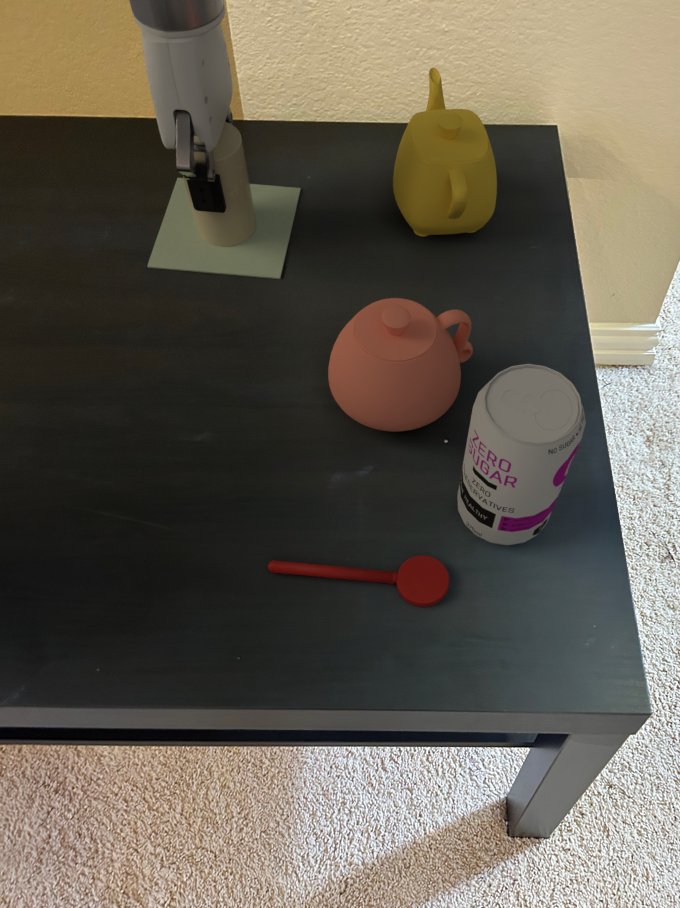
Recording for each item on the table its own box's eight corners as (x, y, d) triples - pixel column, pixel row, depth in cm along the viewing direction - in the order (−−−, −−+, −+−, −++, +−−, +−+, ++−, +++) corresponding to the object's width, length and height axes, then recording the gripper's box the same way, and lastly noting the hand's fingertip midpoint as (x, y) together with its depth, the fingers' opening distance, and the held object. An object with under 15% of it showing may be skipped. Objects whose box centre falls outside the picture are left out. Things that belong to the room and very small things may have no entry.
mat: (147, 267, 79) (146, 266, 78) (178, 179, 85) (177, 177, 85) (280, 279, 78) (280, 277, 78) (300, 189, 85) (300, 187, 85)
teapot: (382, 158, 88) (382, 64, 78) (475, 152, 89) (486, 58, 79) (403, 269, 80) (407, 179, 70) (505, 261, 81) (522, 171, 71)
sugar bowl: (312, 363, 73) (303, 283, 64) (444, 325, 76) (452, 243, 67) (356, 462, 68) (352, 390, 59) (495, 417, 71) (512, 342, 62)
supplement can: (558, 483, 68) (601, 375, 54) (535, 561, 64) (575, 465, 51) (472, 457, 69) (493, 344, 56) (444, 532, 65) (461, 431, 52)
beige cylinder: (191, 243, 80) (167, 158, 71) (203, 203, 83) (182, 116, 74) (250, 249, 80) (234, 164, 71) (261, 208, 83) (247, 122, 74)
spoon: (264, 592, 62) (262, 587, 61) (273, 545, 64) (271, 540, 63) (446, 609, 62) (447, 605, 61) (450, 561, 64) (451, 556, 63)
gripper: (155, -65, 65) (199, 129, 81) (100, 52, 57) (161, 242, 73) (241, -59, 65) (268, 135, 81) (198, 60, 57) (238, 248, 73)
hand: (217, 184), depth 77 cm, fingers closed on beige cylinder, 6 cm apart
